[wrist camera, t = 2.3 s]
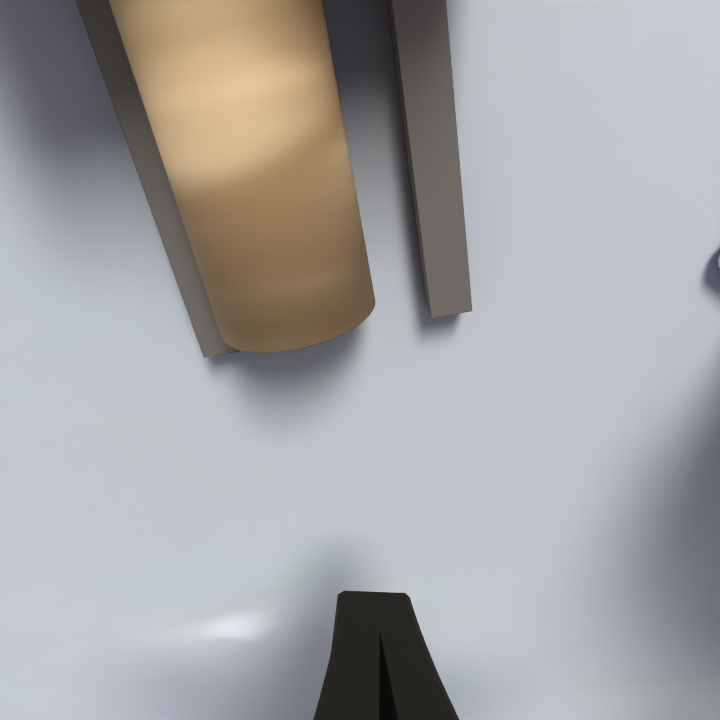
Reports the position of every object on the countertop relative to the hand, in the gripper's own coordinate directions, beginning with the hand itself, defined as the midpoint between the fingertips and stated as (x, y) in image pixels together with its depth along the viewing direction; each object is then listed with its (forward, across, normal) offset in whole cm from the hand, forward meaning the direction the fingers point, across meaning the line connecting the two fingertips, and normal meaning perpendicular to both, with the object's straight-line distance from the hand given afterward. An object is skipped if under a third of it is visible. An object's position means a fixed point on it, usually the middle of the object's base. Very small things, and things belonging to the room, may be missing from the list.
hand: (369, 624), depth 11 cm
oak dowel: (+6, +2, -8) cm, 11 cm away
